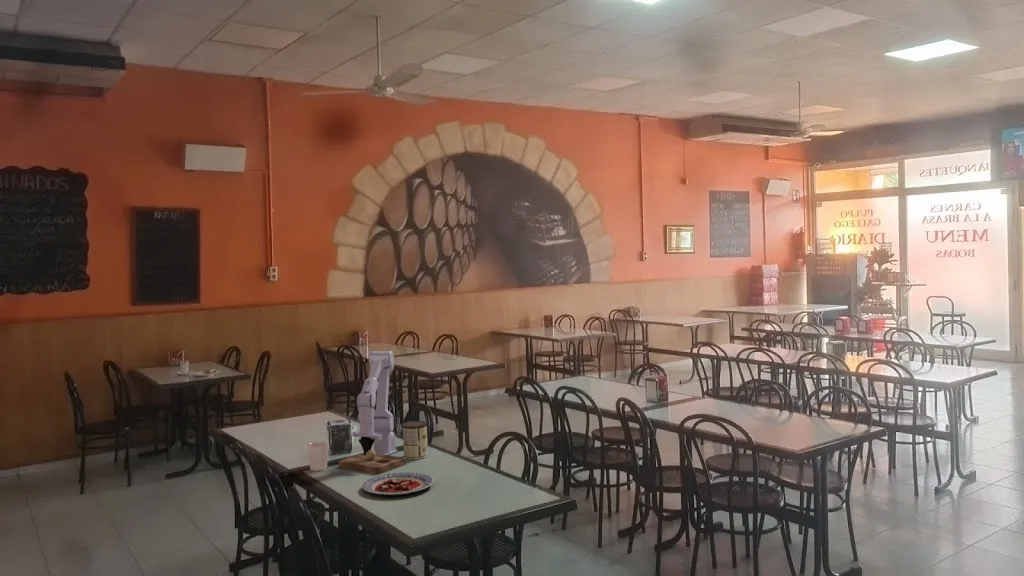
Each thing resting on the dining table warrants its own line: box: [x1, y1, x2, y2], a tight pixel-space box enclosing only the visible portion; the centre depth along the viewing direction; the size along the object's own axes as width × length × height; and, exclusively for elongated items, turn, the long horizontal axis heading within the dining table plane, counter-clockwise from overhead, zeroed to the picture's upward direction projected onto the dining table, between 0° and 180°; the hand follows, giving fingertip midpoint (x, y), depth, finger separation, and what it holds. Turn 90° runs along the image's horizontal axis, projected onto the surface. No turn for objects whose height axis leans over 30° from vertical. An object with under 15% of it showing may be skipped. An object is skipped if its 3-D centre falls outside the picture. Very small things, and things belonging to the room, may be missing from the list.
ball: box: [366, 449, 376, 460], centre depth 308 cm, size 4×4×4 cm
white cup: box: [307, 441, 329, 472], centre depth 305 cm, size 8×8×10 cm
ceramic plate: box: [362, 471, 435, 496], centre depth 277 cm, size 26×26×3 cm
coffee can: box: [402, 420, 429, 461], centre depth 320 cm, size 10×10×14 cm
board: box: [338, 452, 407, 475], centre depth 308 cm, size 16×22×2 cm
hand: (367, 455), depth 308 cm, fingers closed, pressing on ball
